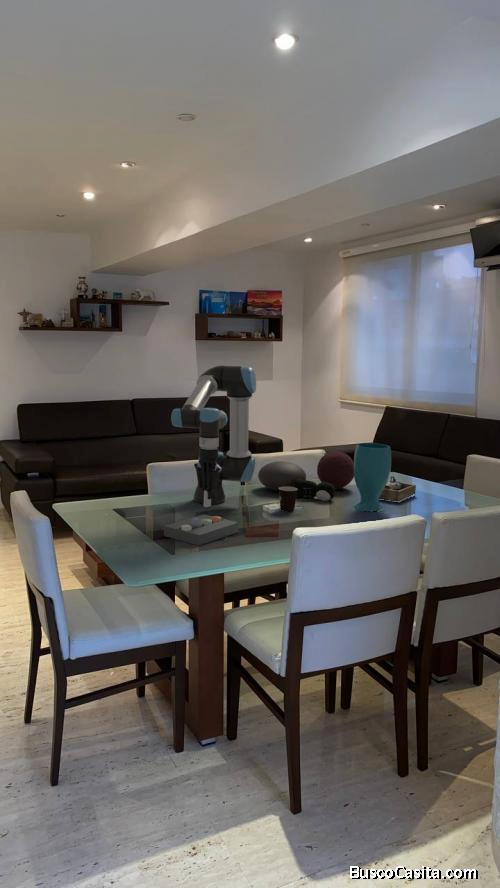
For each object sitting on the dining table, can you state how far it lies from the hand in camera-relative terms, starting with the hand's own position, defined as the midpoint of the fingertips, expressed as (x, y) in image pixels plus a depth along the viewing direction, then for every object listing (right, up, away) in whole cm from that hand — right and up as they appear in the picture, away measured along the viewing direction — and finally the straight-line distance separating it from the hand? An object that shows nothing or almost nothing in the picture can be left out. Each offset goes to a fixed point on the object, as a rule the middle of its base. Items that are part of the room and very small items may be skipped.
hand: (207, 506), depth 266 cm
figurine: (+49, -3, +66) cm, 82 cm away
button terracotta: (+3, -9, +6) cm, 11 cm away
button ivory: (-7, -10, -9) cm, 15 cm away
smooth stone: (+33, +1, +82) cm, 88 cm away
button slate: (-4, -8, -4) cm, 10 cm away
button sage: (0, -9, +1) cm, 9 cm away
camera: (+90, -2, +78) cm, 119 cm away
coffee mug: (+34, -6, +43) cm, 55 cm away
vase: (+73, -6, +51) cm, 89 cm away
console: (-2, -11, -1) cm, 11 cm away
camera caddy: (+90, -2, +75) cm, 117 cm away
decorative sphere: (+62, +1, +90) cm, 110 cm away
